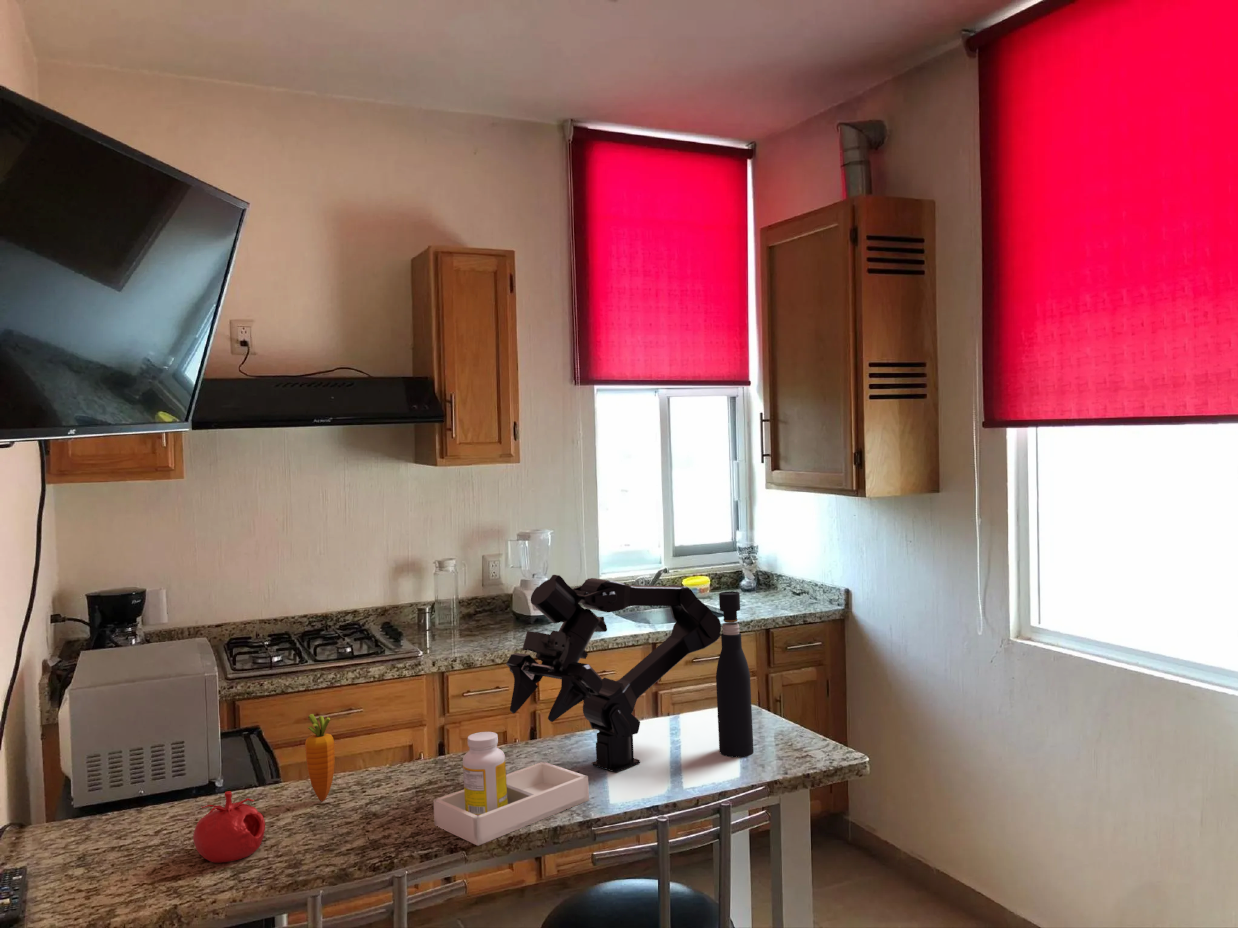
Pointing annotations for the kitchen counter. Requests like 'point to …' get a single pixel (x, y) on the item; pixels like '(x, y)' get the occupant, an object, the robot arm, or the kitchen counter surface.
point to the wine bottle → (733, 685)
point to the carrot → (320, 757)
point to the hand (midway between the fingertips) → (530, 716)
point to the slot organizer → (514, 803)
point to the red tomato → (229, 831)
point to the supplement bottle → (484, 774)
